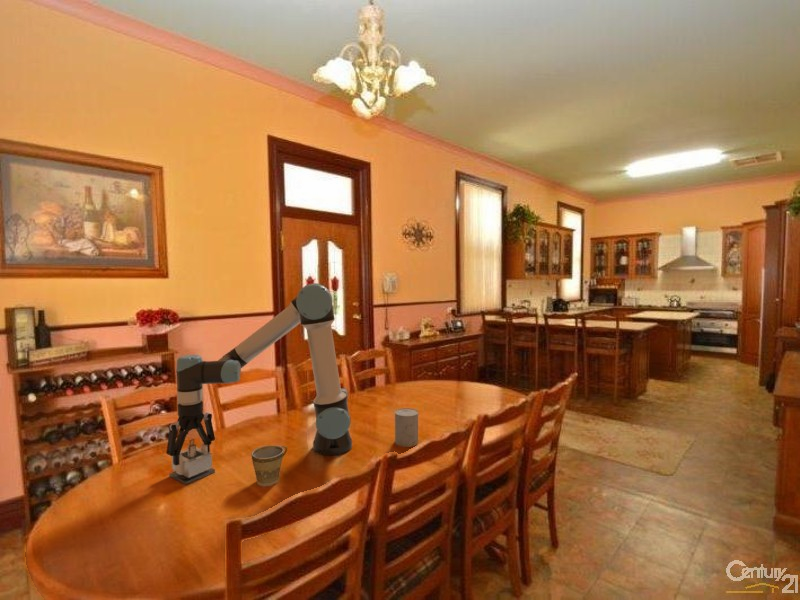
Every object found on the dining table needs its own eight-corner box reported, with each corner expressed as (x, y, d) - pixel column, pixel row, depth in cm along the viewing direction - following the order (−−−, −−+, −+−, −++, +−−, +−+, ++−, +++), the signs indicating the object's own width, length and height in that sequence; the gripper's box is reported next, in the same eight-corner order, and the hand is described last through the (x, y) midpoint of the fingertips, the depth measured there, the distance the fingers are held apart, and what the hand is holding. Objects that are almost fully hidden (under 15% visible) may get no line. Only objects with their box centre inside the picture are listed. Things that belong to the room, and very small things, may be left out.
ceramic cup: (266, 492, 124) (265, 461, 123) (245, 483, 129) (244, 453, 128) (297, 475, 135) (297, 446, 134) (277, 467, 140) (276, 439, 139)
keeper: (214, 472, 137) (214, 437, 136) (185, 484, 128) (184, 448, 127) (198, 464, 142) (197, 431, 141) (169, 476, 134) (168, 441, 133)
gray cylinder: (421, 439, 164) (422, 410, 164) (412, 448, 156) (412, 417, 155) (400, 435, 168) (400, 407, 168) (390, 444, 160) (390, 414, 159)
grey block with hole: (211, 467, 136) (211, 453, 135) (188, 477, 129) (188, 462, 129) (195, 460, 141) (195, 446, 141) (172, 469, 134) (171, 455, 134)
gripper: (212, 392, 144) (214, 454, 146) (151, 408, 127) (154, 478, 128) (225, 395, 140) (227, 459, 142) (163, 412, 123) (166, 484, 124)
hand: (192, 468), depth 135 cm, fingers closed on grey block with hole, 8 cm apart
